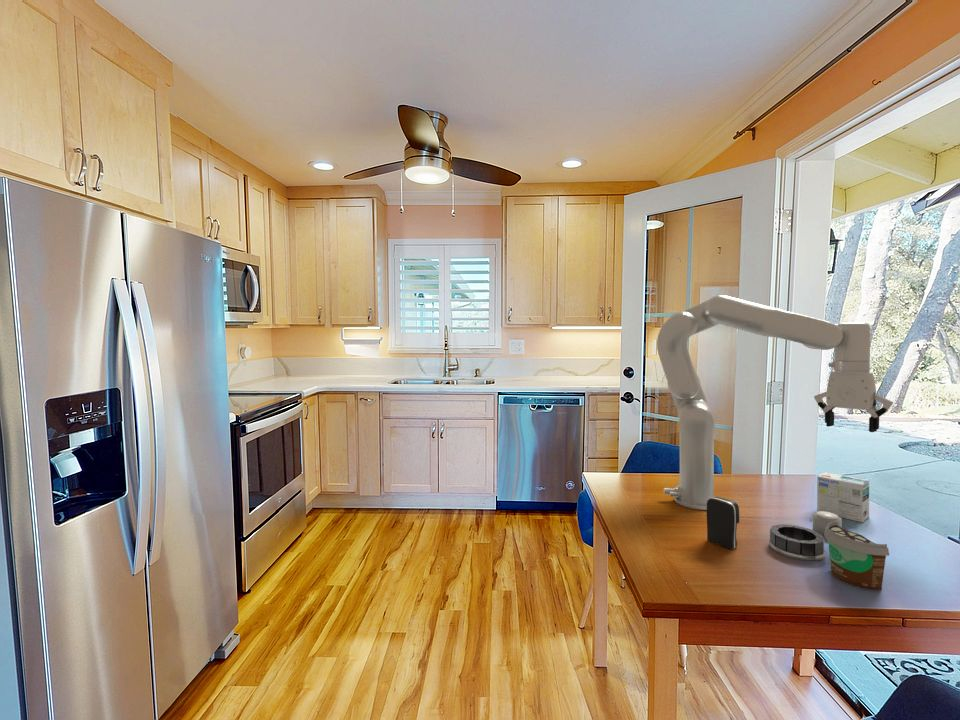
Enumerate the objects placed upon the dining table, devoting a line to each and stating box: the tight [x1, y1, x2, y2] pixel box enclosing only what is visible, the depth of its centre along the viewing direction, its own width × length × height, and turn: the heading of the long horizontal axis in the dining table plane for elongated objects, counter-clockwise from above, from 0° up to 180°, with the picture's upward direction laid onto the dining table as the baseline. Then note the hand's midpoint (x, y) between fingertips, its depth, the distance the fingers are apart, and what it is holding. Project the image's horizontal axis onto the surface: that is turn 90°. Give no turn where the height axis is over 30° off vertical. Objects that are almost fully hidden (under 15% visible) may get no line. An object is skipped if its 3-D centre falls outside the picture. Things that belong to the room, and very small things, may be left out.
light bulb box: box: [816, 471, 870, 523], centre depth 128 cm, size 11×7×11 cm, turn 37°
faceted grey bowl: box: [769, 523, 826, 562], centre depth 108 cm, size 11×11×4 cm
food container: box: [824, 521, 890, 591], centre depth 95 cm, size 12×6×10 cm, turn 5°
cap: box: [812, 511, 843, 538], centre depth 116 cm, size 6×6×5 cm
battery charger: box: [706, 496, 740, 550], centre depth 112 cm, size 7×4×11 cm, turn 33°
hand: (850, 428), depth 124 cm, fingers open, 9 cm apart
